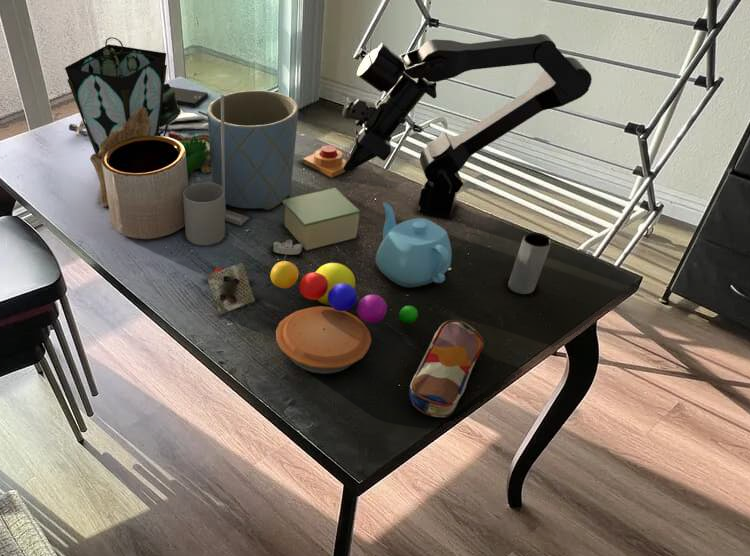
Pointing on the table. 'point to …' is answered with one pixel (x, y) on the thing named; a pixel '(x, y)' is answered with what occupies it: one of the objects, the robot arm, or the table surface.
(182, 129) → the feather
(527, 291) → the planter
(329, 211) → the lid
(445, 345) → the pencil case
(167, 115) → the headphones
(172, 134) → the denture
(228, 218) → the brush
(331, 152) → the button
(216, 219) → the cup
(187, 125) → the cloth
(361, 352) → the pie
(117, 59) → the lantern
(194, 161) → the toy
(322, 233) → the cream storage box
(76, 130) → the person figure
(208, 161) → the decorative book
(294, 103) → the planter
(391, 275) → the teapot
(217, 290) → the tan textured box
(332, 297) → the spheres
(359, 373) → the table surface
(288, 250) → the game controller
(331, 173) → the button housing
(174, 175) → the planter
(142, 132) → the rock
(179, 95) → the cell phone
